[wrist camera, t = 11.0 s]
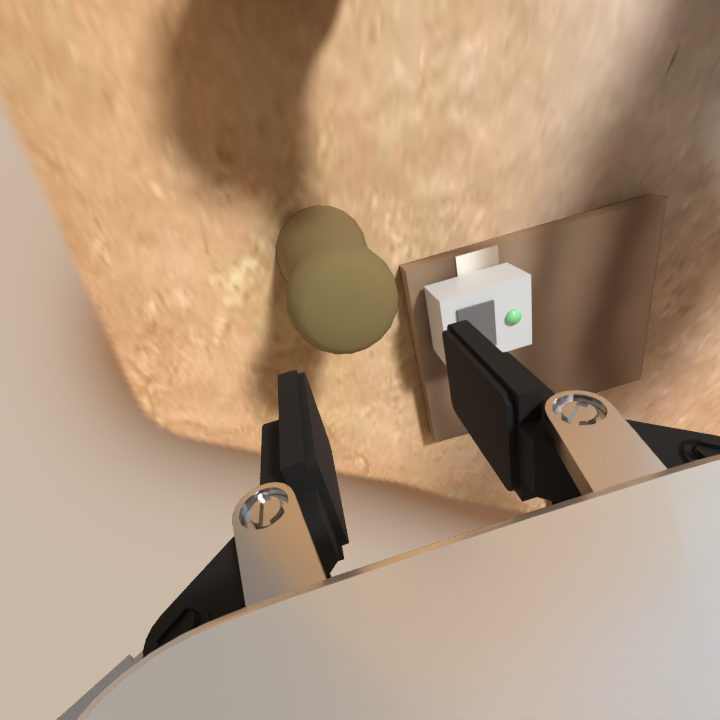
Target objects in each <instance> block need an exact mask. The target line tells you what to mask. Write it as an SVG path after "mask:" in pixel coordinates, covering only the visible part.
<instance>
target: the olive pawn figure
mask: <svg viewBox="0 0 720 720" xmlns="http://www.w3.org/2000/svg"><path fill="white" fill-rule="evenodd" d="M276 254H277V262H278V265H279V267H280V270H281V273H282V275H283V276H284V278H285V280H286V281H287V283H288V288H287V304H288V313H289V316H290V318H291V321H292V323H293V326H294V328H295V329H296V330H297V331H298V332H299V333H300V335H301V336H302V337H303V338H304V339H305V340H306V341H307V342H308V343H309V344H311V345H313V346H314V347H316V348H317V349H319V350H321V351H325V352H329V353H333V354H352V353H355V352H358V351H361V350H364V349H367V348H368V347H370V346H371V345H373V344H374V343H376V342H377V341H379V340H380V339H381V338H382V337H383V336H384V334H385V333H386V332H387V331H388V329H389V328H390V327H391V325H392V322H393V320H394V318H395V315H396V313H397V303H398V291H397V287H396V283H395V279H394V276H393V274H392V273H391V271H390V269H389V268H388V266H387V265H386V263H385V262H384V261H383V260H382V259H381V258H380V257H378V256H377V255H376V254H375V253H373V252H372V251H371V250H370V249H368V248H367V245H366V242H365V238H364V235H363V232H362V231H361V229H360V227H359V226H358V224H357V223H356V221H355V220H354V219H353V218H351V217H350V216H349V215H348V214H347V213H345V212H344V211H342V210H339V209H337V208H334V207H331V206H312V207H309V208H306V209H303V210H300V211H299V212H297V213H296V214H295V215H293V216H292V217H291V218H289V219H288V221H287V222H286V224H285V225H284V227H283V228H282V229H281V231H280V234H279V237H278V241H277V244H276Z"/></svg>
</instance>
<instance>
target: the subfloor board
mask: <svg viewBox="0 0 720 720" xmlns="http://www.w3.org/2000/svg"><path fill="white" fill-rule="evenodd" d="M666 197H667V196H660V195H653V194H648V195H644V196H641V197H637V198H634V199H630V200H627V201H623V202H620V203H616V204H613V205H609V206H606V207H602V208H599V209H595V210H591V211H588V212H584V213H581V214H577V215H574V216H570V217H567V218H563V219H560V220H556V221H553V222H549V223H546V224H542V225H539V226H535V227H532V228H528V229H525V230H521V231H518V232H514V233H511V234H507V235H504V236H500V237H497V238H493V239H490V240H486V241H483V242H479V243H476V244H472V245H469V246H465V247H462V248H458V249H455V250H451V251H448V252H444V253H441V254H437V255H434V256H430V257H427V258H423V259H420V260H416V261H413V262H409V263H406V264H402V265H400V271H401V276H402V282H403V287H404V293H405V298H406V304H407V309H408V315H409V320H410V326H411V331H412V337H413V342H414V348H415V353H416V359H417V364H418V370H419V375H420V381H421V386H422V392H423V397H424V403H425V408H426V414H427V419H428V425H429V430H430V433H431V435H432V437H433V439H434V441H435V442H439V441H442V440H446V439H449V438H452V437H455V436H459V435H462V434H465V433H468V431H467V429H466V428H465V426H464V425H463V424H462V422H461V421H460V419H459V418H458V416H457V415H456V413H455V411H454V409H453V406H452V402H451V395H450V388H449V381H448V374H447V367H446V365H445V364H444V362H443V361H442V360H441V358H440V357H439V356H438V355H437V353H436V352H435V351H434V349H433V343H432V336H431V330H430V323H429V317H428V311H427V304H426V298H425V291H424V286H427V285H430V284H434V283H437V282H441V281H444V280H448V279H451V278H455V277H458V276H461V275H465V274H468V273H472V272H475V271H479V270H482V269H486V268H489V267H493V266H496V265H500V264H503V263H506V262H507V263H509V264H511V265H513V266H515V267H517V268H519V269H521V270H523V271H525V272H527V273H529V274H531V302H532V344H530V345H527V346H524V347H520V348H517V349H514V350H510V351H507V352H508V353H510V354H511V355H512V356H514V357H515V358H516V359H517V360H518V361H519V362H520V363H521V364H523V365H524V366H525V367H526V368H527V369H528V370H529V371H530V372H532V373H533V374H534V375H535V376H536V377H537V378H538V379H539V380H541V381H542V382H543V383H544V384H545V385H546V386H547V387H548V388H550V389H551V390H552V391H553V392H554V393H555V394H557V393H560V392H564V391H572V390H579V391H588V392H591V393H597V392H600V391H603V390H607V389H610V388H613V387H616V386H619V385H623V384H626V383H629V382H632V381H636V380H639V379H640V376H641V369H642V362H643V355H644V348H645V341H646V334H647V327H648V321H649V314H650V307H651V300H652V293H653V286H654V279H655V272H656V266H657V259H658V252H659V245H660V238H661V231H662V224H663V217H664V211H665V204H666Z"/></svg>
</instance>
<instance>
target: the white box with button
mask: <svg viewBox="0 0 720 720" xmlns="http://www.w3.org/2000/svg"><path fill="white" fill-rule="evenodd" d="M424 291H425V298H426V304H427V311H428V317H429V323H430V330H431V336H432V343H433V349H434V351H435V352H436V353H437V355H438V356H439V357H440V358H441V360H442V361H443V362H444V364H445V365H446V359H445V352H444V345H443V338H442V332H443V331H445V330H447V326H448V325H449V324H452V323H456V322H459V321H462V320H468V321H469V322H470V323H471V324H472V325H473V326H474V327H475V328H477V329H478V330H479V331H480V332H481V333H482V334H483V335H484V336H485V337H486V338H487V339H489V340H490V341H491V342H492V343H493V344H494V345H495V346H496V347H497V348H498V349H499V350H501V351H502V352H507V351H510V350H514V349H517V348H520V347H524V346H527V345H530V344H532V302H531V274H529V273H527V272H525V271H523V270H521V269H519V268H517V267H515V266H513V265H511V264H509V263H507V262H506V263H503V264H500V265H496V266H493V267H489V268H486V269H482V270H479V271H475V272H472V273H468V274H465V275H461V276H458V277H455V278H451V279H448V280H444V281H441V282H437V283H434V284H430V285H427V286H424Z"/></svg>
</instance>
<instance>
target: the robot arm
mask: <svg viewBox="0 0 720 720" xmlns="http://www.w3.org/2000/svg"><path fill="white" fill-rule="evenodd" d="M442 338H443V345H444V352H445V359H446V367H447V374H448V381H449V388H450V395H451V402H452V406H453V409H454V411H455V413H456V415H457V416H458V418H459V419H460V421H461V422H462V424H463V425H464V426H465V428H466V429H467V431H468V432H469V434H470V435H471V437H472V438H473V440H474V441H475V443H476V444H477V446H478V447H479V449H480V450H481V452H482V453H483V455H484V456H485V458H486V459H487V461H488V462H489V464H490V465H491V467H492V468H493V469H494V471H495V472H496V474H497V475H498V477H499V478H500V480H501V481H502V483H503V484H504V486H505V487H506V489H507V490H508V491H513V490H515V492H516V493H517V494H518V496H519V497H520V499H521V500H522V501H526V500H529V499H532V498H535V497H539V498H542V499H545V503H546V507H545V508H542V509H539V510H535V511H532V512H529V513H526V514H523V515H520V516H517V517H514V518H511V519H508V520H505V521H502V522H499V523H495V524H493V525H489V526H486V527H483V528H480V529H477V530H474V531H471V532H468V533H465V534H462V535H459V536H455V537H452V538H449V539H446V540H443V541H440V542H437V543H434V544H431V545H428V546H425V547H422V548H419V549H416V550H413V551H410V552H407V553H403V554H400V555H397V556H395V557H391V558H389V559H385V560H382V561H379V562H376V563H373V564H370V565H367V566H364V567H361V568H358V569H355V570H352V571H350V572H346V573H343V574H340V575H337V576H334V577H331V574H330V572H331V571H332V569H333V568H334V566H335V564H336V563H337V562H338V561H340V560H343V559H344V556H343V549H342V545H345V544H348V543H349V540H348V534H347V529H346V524H345V519H344V514H343V508H342V504H341V498H340V492H339V487H338V482H337V477H336V471H335V466H334V461H333V456H332V451H331V447H330V443H329V440H328V437H327V434H326V431H325V428H324V426H323V423H322V420H321V417H320V414H319V411H318V408H317V406H316V403H315V400H314V397H313V394H312V391H311V388H310V386H309V383H308V380H307V377H306V374H305V372H303V373H300V374H298V372H297V370H293V371H290V372H286V373H283V374H280V375H278V404H279V420H276V421H273V422H270V423H266V424H264V425H263V426H262V445H261V473H260V475H261V476H260V486H258V487H256V488H255V489H253V490H251V491H250V492H248V493H247V494H246V495H245V496H244V497H243V498H242V499H241V500H240V502H239V503H238V504H237V506H236V507H235V510H234V513H233V519H232V524H233V530H234V537H233V538H232V539H231V540H230V541H229V542H228V543H227V544H226V545H225V546H224V548H223V549H222V550H221V551H220V552H219V553H218V554H217V555H216V556H215V558H213V560H212V561H211V562H210V563H209V564H208V565H207V566H206V567H205V568H204V569H203V571H201V573H200V574H199V575H198V576H197V577H196V578H195V579H194V580H193V581H192V582H191V583H190V585H189V586H188V587H187V588H186V589H185V590H184V591H183V592H182V593H181V594H180V595H179V596H178V597H177V599H176V600H175V601H174V602H173V603H172V604H171V605H170V606H169V607H168V608H167V609H166V610H165V612H164V613H163V614H162V615H161V616H160V617H159V619H158V620H157V621H156V623H155V624H154V625H153V627H152V628H151V630H150V633H149V634H148V637H147V638H146V642H145V645H144V649H143V651H142V652H141V653H140V654H139V655H137V656H136V657H135V658H133V657H132V656H131V655H129V656H127V657H126V658H125V659H124V660H123V661H122V662H121V663H120V664H118V665H117V666H116V667H115V668H114V669H113V670H112V671H110V672H109V674H107V675H106V676H105V677H104V678H103V679H102V680H100V681H99V682H98V683H97V684H96V685H95V686H94V687H93V688H91V689H90V690H89V691H88V692H87V693H86V694H85V695H84V696H82V697H81V698H80V699H79V700H78V701H77V702H76V703H75V704H74V705H72V706H71V707H70V708H69V709H68V710H67V711H66V712H65V713H63V715H61V716H60V717H59V718H58V719H57V720H720V436H715V435H710V434H704V433H698V432H693V431H687V430H682V429H676V428H670V427H665V426H659V425H654V424H648V423H642V422H637V421H631V420H625V419H624V417H623V416H622V415H621V414H620V413H619V412H618V410H617V409H616V408H615V407H614V406H613V405H612V403H610V402H609V401H608V400H607V399H606V398H604V397H602V396H600V395H598V394H595V393H591V392H588V391H579V390H572V391H564V392H560V393H557V394H555V393H554V392H553V391H552V390H551V389H550V388H548V387H547V386H546V385H545V384H544V383H543V382H542V381H541V380H539V379H538V378H537V377H536V376H535V375H534V374H533V373H532V372H530V371H529V370H528V369H527V368H526V367H525V366H524V365H523V364H521V363H520V362H519V361H518V360H517V359H516V358H515V357H514V356H512V355H511V354H510V353H508V352H502V351H501V350H499V349H498V348H497V347H496V346H495V345H494V344H493V343H492V342H491V341H490V340H489V339H487V338H486V337H485V336H484V335H483V334H482V333H481V332H480V331H479V330H478V329H477V328H475V327H474V326H473V325H472V324H471V323H470V322H469V321H468V320H462V321H459V322H456V323H452V324H449V325H448V326H447V330H445V331H443V332H442Z"/></svg>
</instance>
